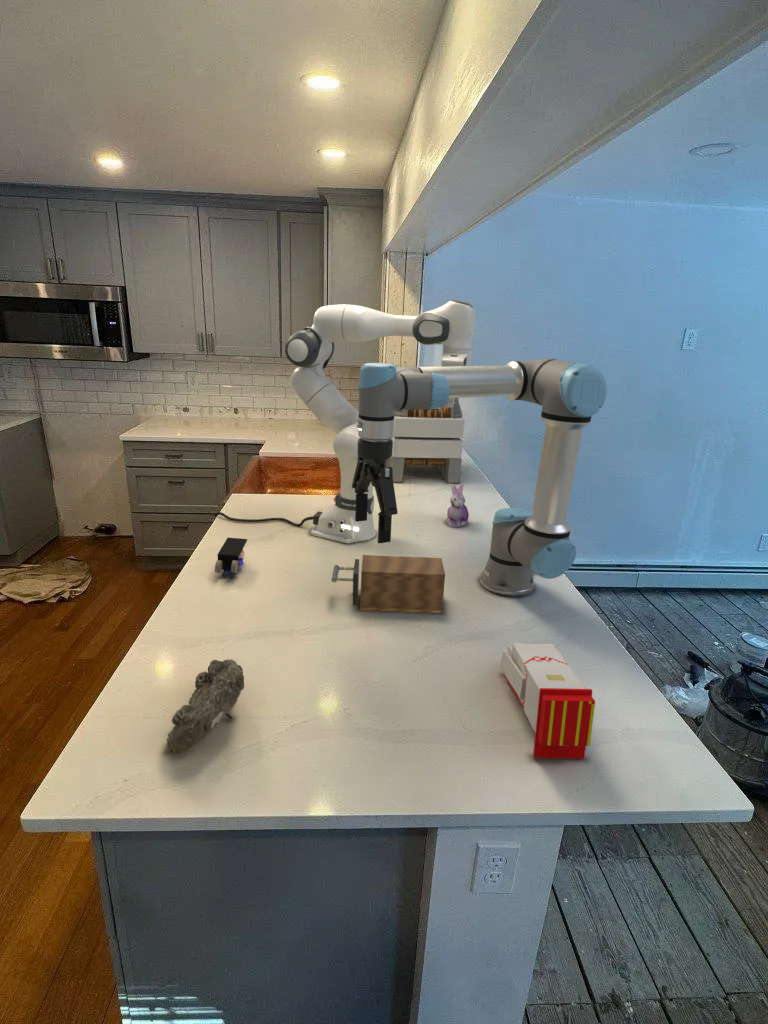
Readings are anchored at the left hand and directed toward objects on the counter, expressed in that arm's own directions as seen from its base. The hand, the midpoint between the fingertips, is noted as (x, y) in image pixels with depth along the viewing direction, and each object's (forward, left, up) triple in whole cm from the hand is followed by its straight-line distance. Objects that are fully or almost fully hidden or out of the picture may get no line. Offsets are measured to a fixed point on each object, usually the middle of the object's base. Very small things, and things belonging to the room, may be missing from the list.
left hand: (453, 404), depth 174 cm
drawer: (-9, -43, -47) cm, 64 cm away
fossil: (-26, -98, -48) cm, 112 cm away
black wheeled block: (-55, -40, -48) cm, 83 cm away
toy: (+34, -75, -48) cm, 95 cm away
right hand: (-7, -60, -20) cm, 64 cm away
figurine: (+2, +24, -48) cm, 54 cm away
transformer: (-27, +86, -48) cm, 102 cm away
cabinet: (-3, -41, -48) cm, 63 cm away
